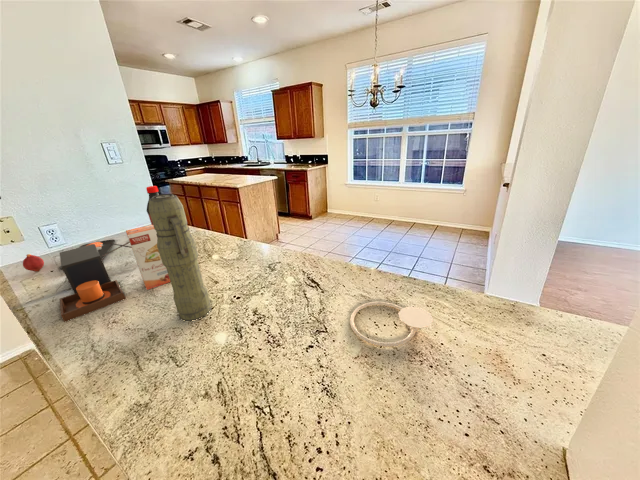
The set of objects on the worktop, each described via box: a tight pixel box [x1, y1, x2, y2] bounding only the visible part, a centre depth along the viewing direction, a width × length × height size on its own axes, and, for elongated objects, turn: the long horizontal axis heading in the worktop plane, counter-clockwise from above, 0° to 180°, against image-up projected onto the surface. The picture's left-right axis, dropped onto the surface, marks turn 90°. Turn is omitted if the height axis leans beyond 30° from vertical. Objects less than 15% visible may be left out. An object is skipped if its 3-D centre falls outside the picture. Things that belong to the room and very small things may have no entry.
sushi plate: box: [59, 239, 132, 271], centre depth 122 cm, size 29×30×4 cm
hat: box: [76, 281, 111, 308], centre depth 84 cm, size 9×9×6 cm
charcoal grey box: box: [59, 244, 112, 294], centre depth 95 cm, size 10×16×12 cm, turn 44°
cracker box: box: [125, 224, 171, 291], centre depth 92 cm, size 14×6×21 cm, turn 129°
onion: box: [22, 253, 45, 273], centre depth 107 cm, size 6×6×8 cm
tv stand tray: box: [59, 279, 127, 323], centre depth 85 cm, size 15×12×2 cm
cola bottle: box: [145, 185, 160, 225], centre depth 114 cm, size 8×8×30 cm
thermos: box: [148, 193, 212, 322], centre depth 71 cm, size 9×12×35 cm
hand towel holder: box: [349, 301, 434, 348], centre depth 68 cm, size 17×4×21 cm
